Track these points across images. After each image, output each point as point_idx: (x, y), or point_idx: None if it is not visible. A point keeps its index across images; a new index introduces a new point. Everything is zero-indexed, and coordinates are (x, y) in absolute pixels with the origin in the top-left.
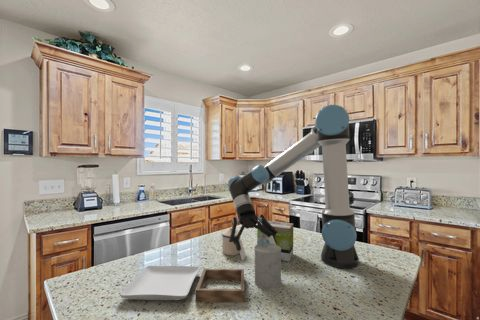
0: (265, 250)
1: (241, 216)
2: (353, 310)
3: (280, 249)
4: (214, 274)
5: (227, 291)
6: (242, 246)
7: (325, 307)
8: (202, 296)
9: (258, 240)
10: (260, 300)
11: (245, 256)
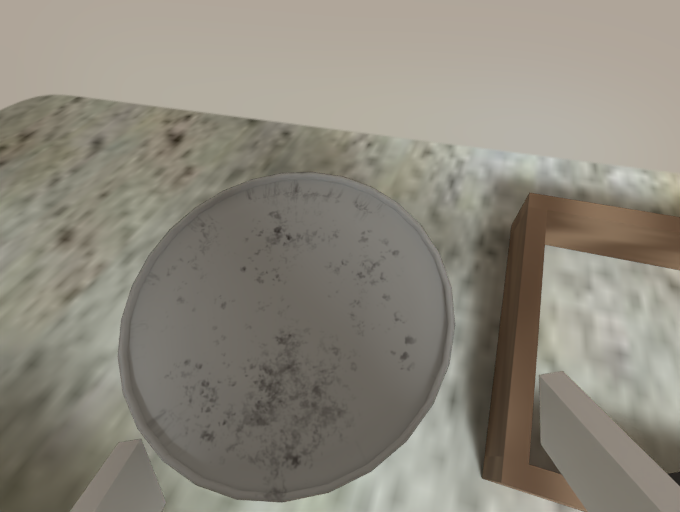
0: (335, 258)
1: None
2: (133, 123)
3: (167, 249)
4: None
5: (626, 211)
6: (642, 475)
7: (203, 147)
8: None
9: None
10: (430, 224)
11: (548, 373)
